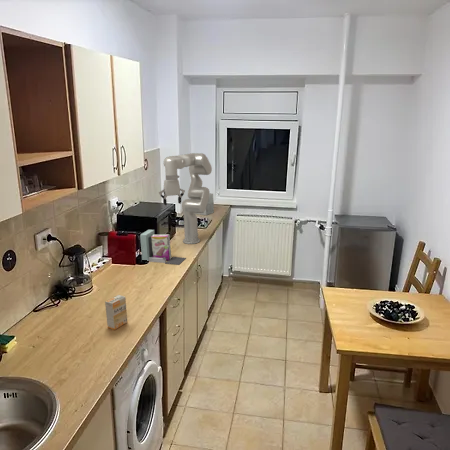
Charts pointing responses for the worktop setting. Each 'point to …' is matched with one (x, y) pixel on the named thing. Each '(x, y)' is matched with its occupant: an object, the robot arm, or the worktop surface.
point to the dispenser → (148, 247)
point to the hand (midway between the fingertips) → (172, 204)
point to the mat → (175, 260)
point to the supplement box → (116, 312)
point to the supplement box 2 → (209, 206)
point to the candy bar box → (161, 246)
